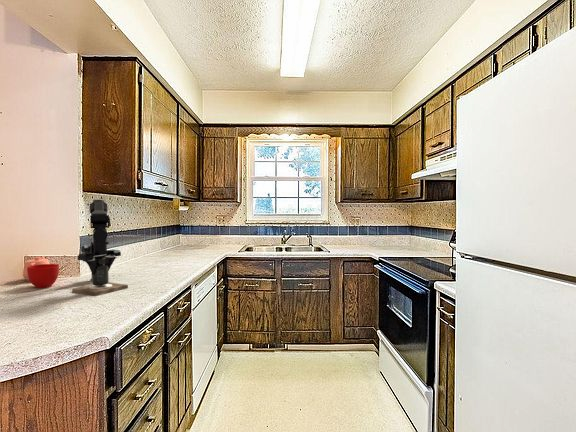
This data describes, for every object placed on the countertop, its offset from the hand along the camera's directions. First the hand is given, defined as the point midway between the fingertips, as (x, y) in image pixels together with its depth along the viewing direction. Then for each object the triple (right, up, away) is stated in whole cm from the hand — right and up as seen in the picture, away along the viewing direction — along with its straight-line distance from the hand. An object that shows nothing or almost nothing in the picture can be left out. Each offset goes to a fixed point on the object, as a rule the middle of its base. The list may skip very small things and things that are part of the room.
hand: (100, 273), depth 175 cm
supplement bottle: (0, -5, 0) cm, 5 cm away
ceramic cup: (-33, -8, +9) cm, 35 cm away
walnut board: (0, -8, 0) cm, 8 cm away
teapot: (-46, -7, +25) cm, 53 cm away
